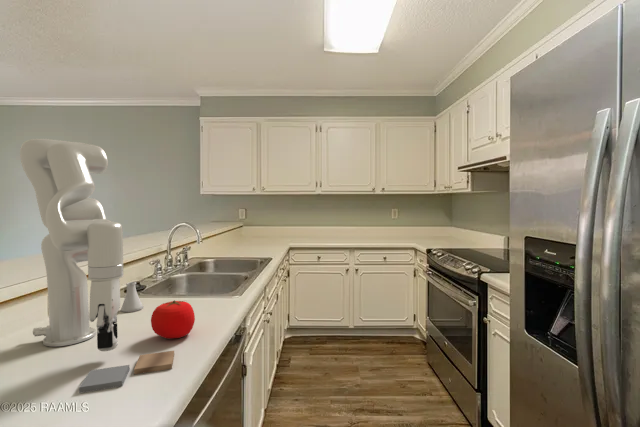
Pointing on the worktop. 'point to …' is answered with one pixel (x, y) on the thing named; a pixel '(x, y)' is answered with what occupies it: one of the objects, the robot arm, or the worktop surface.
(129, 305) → the flask
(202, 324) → the worktop surface
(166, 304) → the tomato
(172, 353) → the walnut coaster
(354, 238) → the worktop surface
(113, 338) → the rook chess piece
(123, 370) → the charcoal coaster
